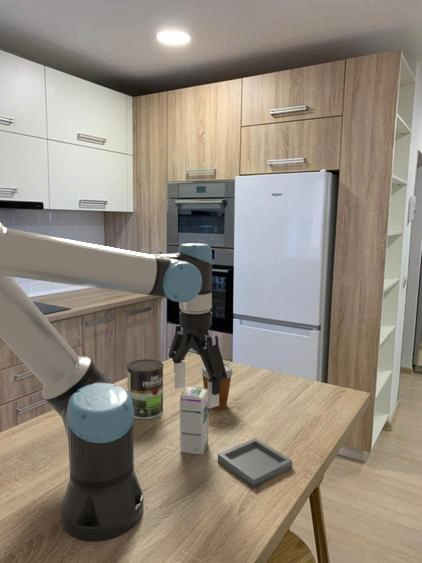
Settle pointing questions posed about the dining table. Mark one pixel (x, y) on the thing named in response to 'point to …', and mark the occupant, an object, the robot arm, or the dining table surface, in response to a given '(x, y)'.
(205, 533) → the dining table surface
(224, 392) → the disposable coffee cup
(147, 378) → the coffee can
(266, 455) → the tray
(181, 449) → the syrup box
